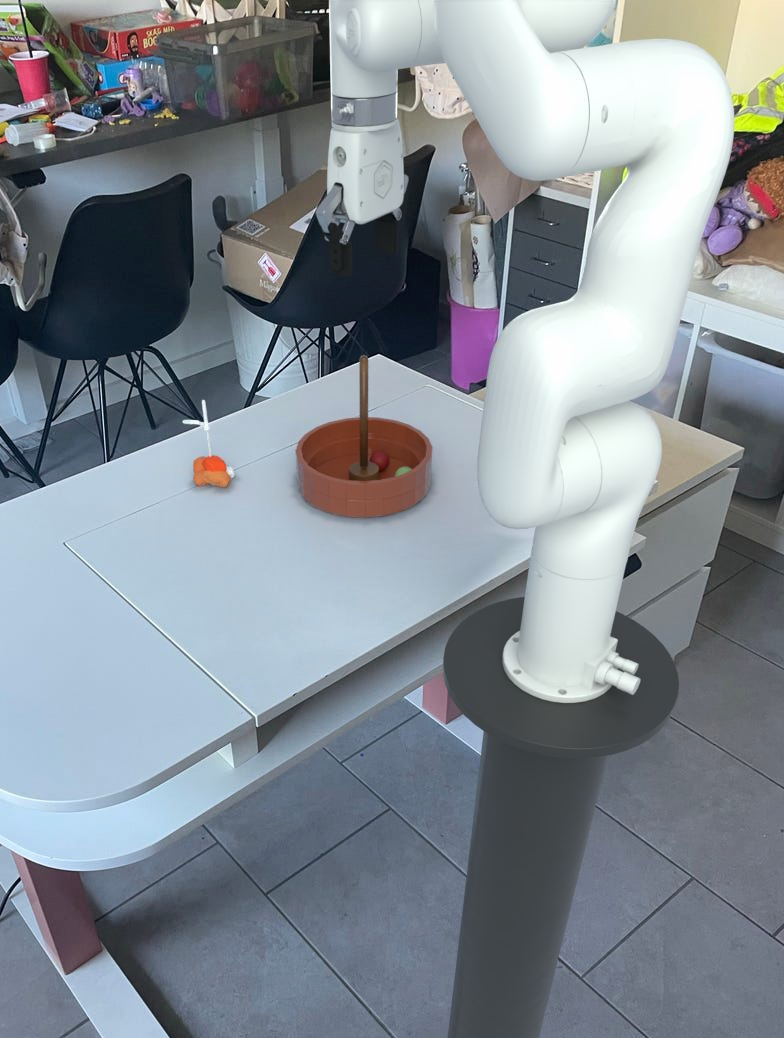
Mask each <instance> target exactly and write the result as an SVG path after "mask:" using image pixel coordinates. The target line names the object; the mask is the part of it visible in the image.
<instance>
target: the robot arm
mask: <svg viewBox="0 0 784 1038" xmlns="http://www.w3.org/2000/svg"><path fill="white" fill-rule="evenodd" d="M615 5H616V0H328V10H329V11H328V12H329V13H328V15H329V16H328V17H329V18H328V19H329V64H330V70H329V71H330V110H331V111H330V112H331V113H330V114H331V127H332V128H331V129H330V134H329V143H328V145H329V146H328V153H327V169H326V171H327V172H326V173H327V174H326V196H325V197H324V198H323V200H322V201H321V203H320V204H319V205H318V206H317V208H316V210H315V216H316V219H317V221H318V224H319V230H320V232H321V233H322V234H323V236H324V240H325V241H327V242H328V246H327V247H328V272H329V273H330V274H333V275H336V276H340V277H344V278H349V277H351V276H353V243H352V242H351V241H349V240H350V238H351V235H352V232H353V230H354V227H355V225H356V224H358V225H365V224H367V223H369V222H372V221H374V220H375V225H374V227H375V231H374V232H375V233H374V234H375V235H374V249H375V251H376V252H380V253H384V254H390V255H392V256H393V255H396V254H398V253H399V223H400V220H401V218H402V215H403V214H402V207H403V205H404V203H405V200H406V195H405V194H406V191H407V187H408V183H409V176H408V175H407V174H405V171H404V170H405V167H404V148H403V147H404V146H403V137H402V131H401V130H402V129H401V125H400V120H399V118H398V79H399V77H398V76H399V75H398V73H399V72H398V70H404V69H409V68H417V67H424V66H430V65H439V64H446V66H447V68H448V71H449V72H450V74H451V76H452V77H453V80H454V81H455V83H456V85H457V87H458V89H459V91H460V92H461V94H462V96H463V98H464V100H465V102H466V103H467V105H468V106H469V109H470V110H471V112H472V114H473V115H474V117H475V119H476V120H477V122H478V124H479V126H480V128H481V130H482V132H483V133H484V135H485V137H486V139H487V140H488V142H489V144H490V146H491V148H492V150H493V151H494V152H495V155H496V156H497V157H498V159H499V160H500V161H501V163H502V164H503V165H504V166H505V167H506V168H507V170H509V171H510V172H511V173H513V175H515V176H517V177H519V178H521V179H524V180H529V181H532V182H533V181H534V182H535V181H536V182H542V181H543V182H544V181H552V180H558V179H563V178H567V177H571V176H577V175H583V174H588V173H593V172H599V171H604V170H607V169H608V170H609V169H613V168H617V167H622V166H624V167H625V168H626V176H625V177H624V179H623V180H622V182H621V184H620V185H619V186H618V187H617V189H616V190H615V191H614V192H613V194H612V195H611V197H610V199H609V200H607V203H606V205H605V206H604V208H603V210H602V211H601V213H600V214H599V217H598V219H597V221H596V223H595V225H594V228H593V229H592V233H591V234H590V238H589V241H588V246H587V249H586V250H587V251H586V257H585V264H584V268H583V272H582V277H581V281H580V284H579V287H578V290H577V291H576V293H574V295H573V296H571V297H570V298H569V299H567V300H563V301H560V302H556V303H552V304H548V305H544V306H540V307H537V308H533V309H530V310H528V311H525V312H523V313H521V314H519V315H518V316H516V317H515V318H513V319H512V320H510V321H509V322H508V323H507V325H506V326H505V327H504V328H503V329H502V331H501V332H500V334H499V335H498V337H497V339H496V341H495V343H494V345H493V348H492V351H491V354H490V357H489V362H488V369H487V374H486V383H485V390H484V399H483V406H482V407H483V408H482V415H481V416H482V417H481V427H480V433H479V441H478V450H477V451H478V452H477V460H476V461H477V462H476V479H477V488H478V492H479V496H480V500H481V502H482V505H483V507H484V509H485V511H486V513H487V514H488V515H489V516H490V518H492V520H493V521H495V522H496V523H497V524H499V525H500V526H502V527H505V528H507V529H512V530H527V529H532V528H534V533H533V537H532V545H531V551H530V557H529V558H530V559H529V565H528V571H527V579H526V586H525V594H524V597H525V600H524V607H523V614H522V621H521V628H520V631H518V632H517V633H515V634H514V635H513V636H511V638H510V639H509V640H508V641H507V643H506V645H505V647H504V651H503V657H502V660H503V667H504V670H505V672H506V674H507V676H508V677H509V679H510V680H511V681H512V682H513V683H514V684H515V685H516V686H518V687H519V688H520V689H522V690H523V691H525V692H527V693H529V694H530V695H532V696H535V697H538V698H540V699H544V700H548V701H552V702H560V703H578V702H584V701H588V700H591V699H594V698H597V697H599V696H601V695H602V694H604V693H605V692H606V691H608V690H609V689H610V688H611V686H612V685H613V686H616V687H617V688H618V689H620V690H622V691H625V692H627V693H629V694H632V695H634V693H635V692H636V690H637V689H638V686H639V684H640V680H641V679H640V678H638V677H636V676H633V675H634V674H635V673H636V671H637V669H638V665H639V664H638V663H635V662H633V661H630V660H628V659H627V660H626V659H624V658H621V657H619V653H616V652H615V651H616V646H617V642H618V639H615V638H613V637H611V636H610V634H611V630H612V625H613V621H614V616H615V612H616V611H617V607H618V604H619V603H618V602H619V597H620V593H621V589H622V584H623V579H624V575H625V570H626V566H627V563H628V559H629V555H630V550H631V546H632V541H633V538H634V534H635V530H636V528H637V523H638V521H639V518H640V515H641V514H642V511H643V508H644V505H645V503H646V501H647V499H648V497H649V494H650V493H651V491H652V489H653V486H654V484H655V482H656V479H657V476H658V473H659V471H660V466H661V462H662V455H663V442H662V436H661V432H660V429H659V427H658V424H657V423H656V420H655V418H653V416H652V415H651V414H650V413H649V412H648V411H647V410H646V409H644V408H643V407H642V406H640V405H638V404H636V403H633V402H631V401H632V400H635V399H637V398H640V397H642V396H645V395H646V394H648V393H649V392H651V391H653V390H654V389H655V388H656V387H657V386H658V385H659V384H660V383H661V381H662V379H663V377H664V376H665V375H666V372H667V368H668V367H669V363H670V360H671V357H672V354H673V351H674V346H675V343H676V339H677V334H678V332H679V327H680V323H681V320H682V315H683V312H684V307H685V304H686V302H687V301H686V300H687V296H688V293H689V289H690V286H691V285H690V284H691V282H692V277H693V272H694V268H695V264H696V260H697V256H698V252H699V248H700V245H701V241H702V238H703V236H704V232H705V229H706V226H707V224H708V222H709V218H710V215H711V212H712V210H713V207H714V205H715V203H716V200H717V197H718V195H719V192H720V189H721V187H722V184H723V181H724V178H725V175H726V172H727V169H728V166H729V163H730V158H731V153H732V151H733V150H732V149H733V145H734V144H733V143H734V135H735V109H734V108H735V107H734V101H733V95H732V91H731V88H730V85H729V82H728V79H727V77H726V75H725V72H724V70H723V69H722V67H721V66H720V64H719V62H718V61H717V60H716V59H715V58H714V56H713V55H711V54H710V53H709V52H708V51H707V50H706V49H705V48H703V47H701V46H699V45H697V44H695V43H692V42H689V41H686V40H681V39H674V38H645V39H633V40H626V41H619V42H614V43H607V44H601V45H595V46H589V47H586V46H587V45H589V44H590V43H592V42H593V41H594V40H595V39H596V38H597V37H598V36H599V35H600V34H601V32H602V31H603V30H604V28H605V27H606V25H607V24H608V22H609V20H610V18H611V16H612V14H613V11H614V8H615ZM340 223H343V227H342V229H341V228H340V226H339V225H340ZM618 668H619V669H621V670H622V671H624V672H621V671H619V670H618ZM626 672H627V673H626ZM628 673H629V674H628Z"/></svg>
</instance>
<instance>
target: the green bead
mask: <svg viewBox="0 0 784 1038" xmlns="http://www.w3.org/2000/svg"><path fill="white" fill-rule="evenodd" d="M411 470H412V469H411V468H409V467H401V468H399V469H398V470H397V471H396V473H395V477H396V476H399V475H401V474H404V473H406V472H408V471H411Z"/></svg>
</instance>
